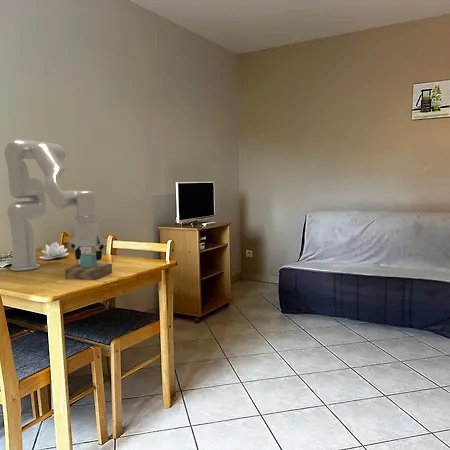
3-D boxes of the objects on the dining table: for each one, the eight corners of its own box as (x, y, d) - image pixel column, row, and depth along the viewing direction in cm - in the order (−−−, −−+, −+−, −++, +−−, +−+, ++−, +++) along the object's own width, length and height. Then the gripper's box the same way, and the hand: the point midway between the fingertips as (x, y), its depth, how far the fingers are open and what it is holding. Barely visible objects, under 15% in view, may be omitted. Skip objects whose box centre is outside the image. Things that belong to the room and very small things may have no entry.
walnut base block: (65, 278, 172) (65, 269, 172) (84, 271, 186) (83, 262, 185) (96, 280, 169) (95, 270, 169) (112, 272, 183) (111, 263, 182)
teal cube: (80, 267, 175) (79, 256, 175) (86, 265, 180) (86, 253, 179) (91, 267, 174) (90, 256, 174) (97, 265, 179) (96, 254, 178)
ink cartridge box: (75, 266, 198) (73, 235, 197) (85, 264, 202) (83, 234, 200) (82, 268, 192) (80, 237, 190) (92, 267, 195) (91, 236, 194)
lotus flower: (33, 260, 216) (31, 243, 215) (54, 255, 230) (53, 239, 229) (54, 261, 211) (53, 244, 210) (74, 256, 224) (74, 240, 223)
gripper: (63, 220, 173) (65, 260, 175) (100, 220, 169) (102, 261, 171) (73, 219, 180) (75, 257, 182) (109, 219, 177) (111, 258, 179)
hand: (88, 259), depth 177 cm, fingers open, 9 cm apart
